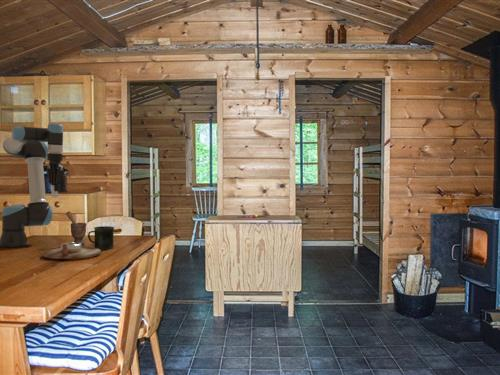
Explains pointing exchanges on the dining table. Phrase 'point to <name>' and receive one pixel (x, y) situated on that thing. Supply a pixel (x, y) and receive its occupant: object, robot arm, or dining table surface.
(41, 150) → the robot arm
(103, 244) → the mug
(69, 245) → the cover
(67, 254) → the turntable
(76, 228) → the mortar and pestle
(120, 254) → the dining table surface
